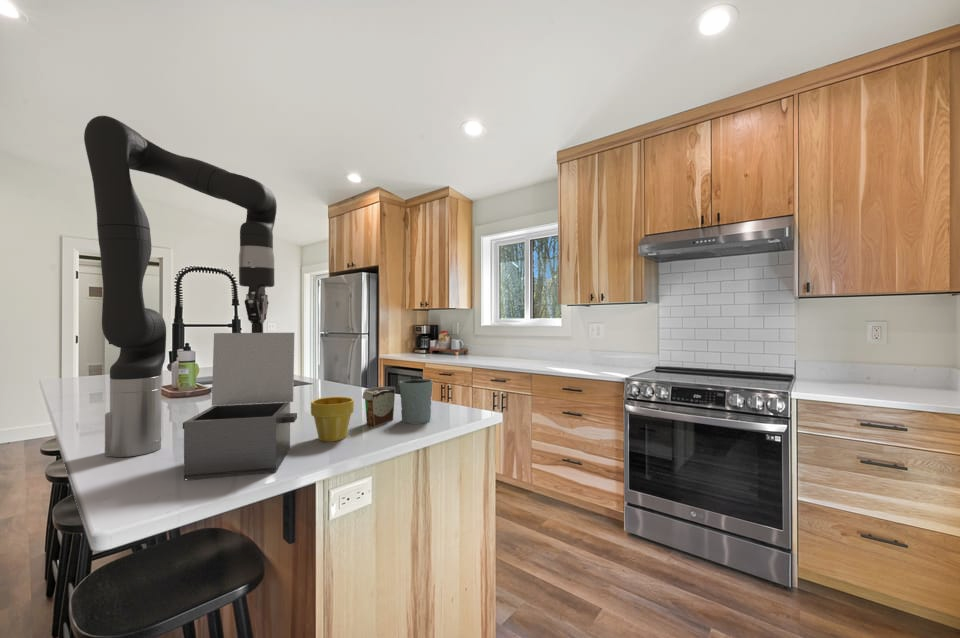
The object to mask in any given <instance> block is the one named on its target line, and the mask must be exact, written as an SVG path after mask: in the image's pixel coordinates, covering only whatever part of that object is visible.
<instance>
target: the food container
mask: <svg viewBox="0 0 960 638" xmlns="http://www.w3.org/2000/svg"><path fill="white" fill-rule="evenodd" d="M395 394H397V390H396V386H376V387H369V388H366V389H364V391H363V394H362V399H363V400H364V405H365V418H366V425H367V426H368V427H370V428H376V427H379V426H382V425H384V424H387V423H389V422H392V420H393V421H394V412H395V397H396V395H395Z"/></svg>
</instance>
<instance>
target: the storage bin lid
mask: <svg viewBox="0 0 960 638" xmlns="http://www.w3.org/2000/svg"><path fill="white" fill-rule="evenodd" d="M212 353H213V355H212V356H213V357H212V382H211V383H212V384H211V385H212V386H211V387H212V388H211V389H212V390H211V407H212V406H218V405H240V404H261V403H283V402H290V403H292V402H294V396H295V395H294V393H295V392H294V387H295V385H294V384H295V382H294V381H295V332H263V333H252V332H214V333H213V352H212Z"/></svg>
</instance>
